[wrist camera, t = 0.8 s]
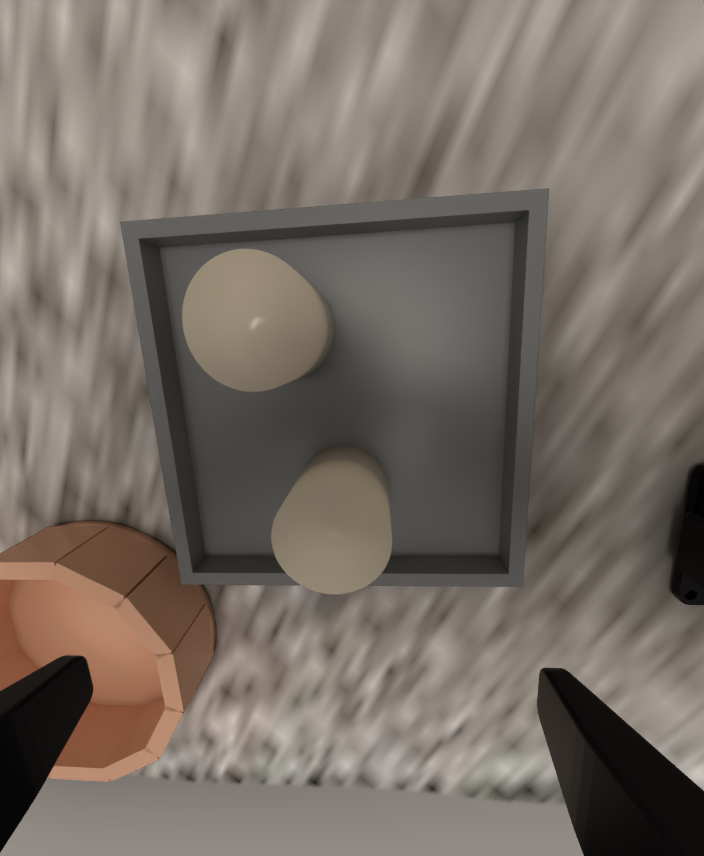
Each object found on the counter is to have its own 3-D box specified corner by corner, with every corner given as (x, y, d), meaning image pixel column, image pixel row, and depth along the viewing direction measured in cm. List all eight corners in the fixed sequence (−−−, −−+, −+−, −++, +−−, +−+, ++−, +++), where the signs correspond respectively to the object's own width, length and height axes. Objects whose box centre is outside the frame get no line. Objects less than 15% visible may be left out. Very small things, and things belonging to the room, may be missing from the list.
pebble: (332, 274, 14) (312, 244, 10) (337, 376, 15) (321, 389, 11) (233, 280, 15) (172, 253, 10) (244, 380, 16) (192, 394, 11)
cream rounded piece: (387, 444, 16) (390, 483, 11) (389, 529, 17) (393, 594, 12) (296, 446, 16) (265, 485, 12) (303, 529, 17) (276, 594, 13)
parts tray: (527, 208, 14) (548, 188, 12) (508, 561, 17) (522, 586, 15) (150, 236, 15) (120, 222, 13) (200, 561, 18) (181, 584, 17)
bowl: (200, 519, 18) (156, 562, 14) (228, 710, 20) (197, 786, 17) (-18, 521, 19) (-109, 562, 15) (35, 703, 21) (-32, 774, 18)
